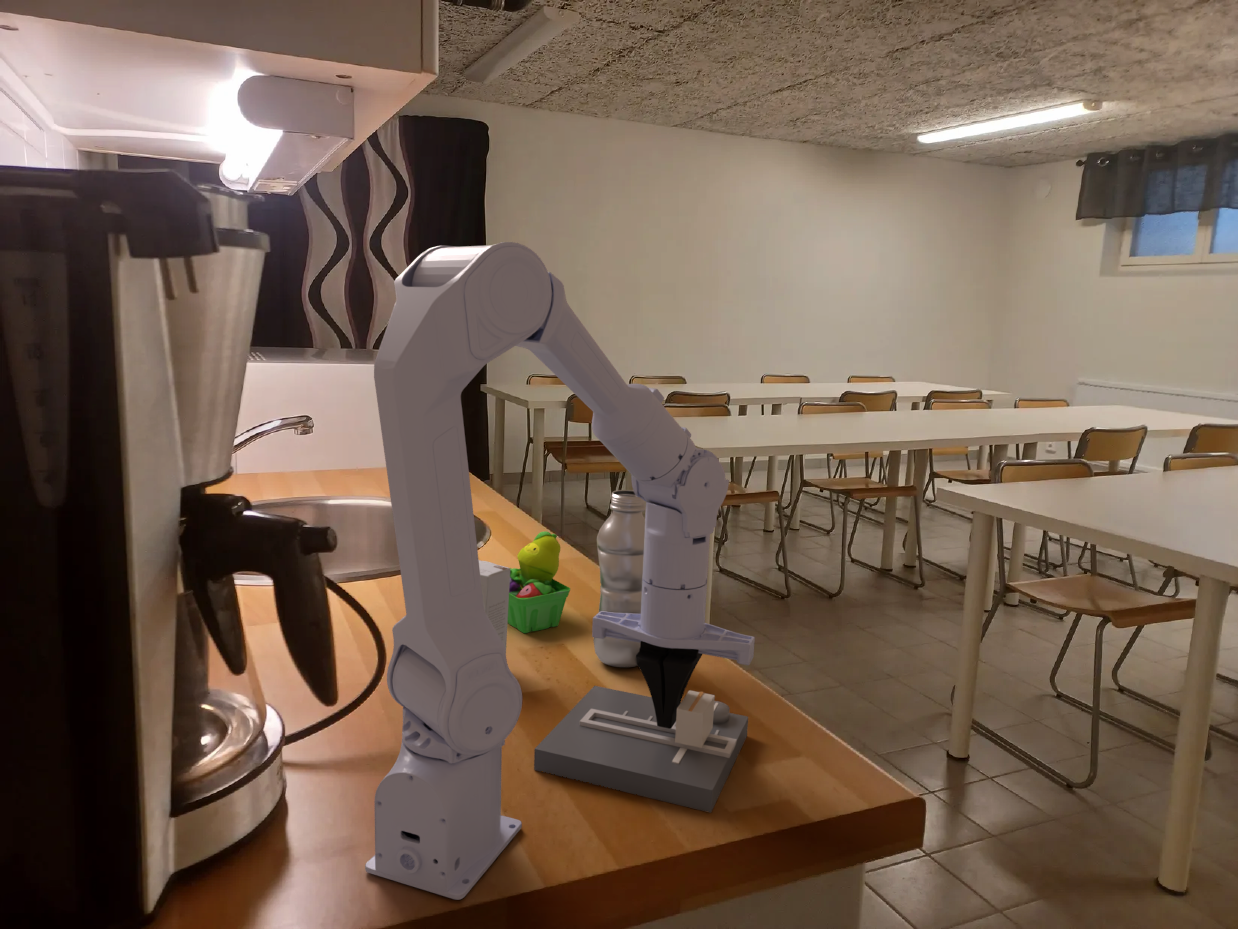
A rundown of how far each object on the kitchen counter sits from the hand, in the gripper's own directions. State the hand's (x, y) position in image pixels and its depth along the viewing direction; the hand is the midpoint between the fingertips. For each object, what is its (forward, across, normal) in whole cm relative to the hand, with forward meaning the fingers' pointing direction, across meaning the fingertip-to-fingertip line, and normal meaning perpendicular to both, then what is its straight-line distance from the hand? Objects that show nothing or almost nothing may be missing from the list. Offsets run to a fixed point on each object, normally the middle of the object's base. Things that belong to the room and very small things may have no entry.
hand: (667, 722), depth 78 cm
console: (+3, +2, 0) cm, 4 cm away
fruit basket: (+4, +27, -26) cm, 38 cm away
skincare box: (+3, +25, -9) cm, 27 cm away
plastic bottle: (+3, +11, -18) cm, 21 cm away
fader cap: (+1, -3, 0) cm, 3 cm away
